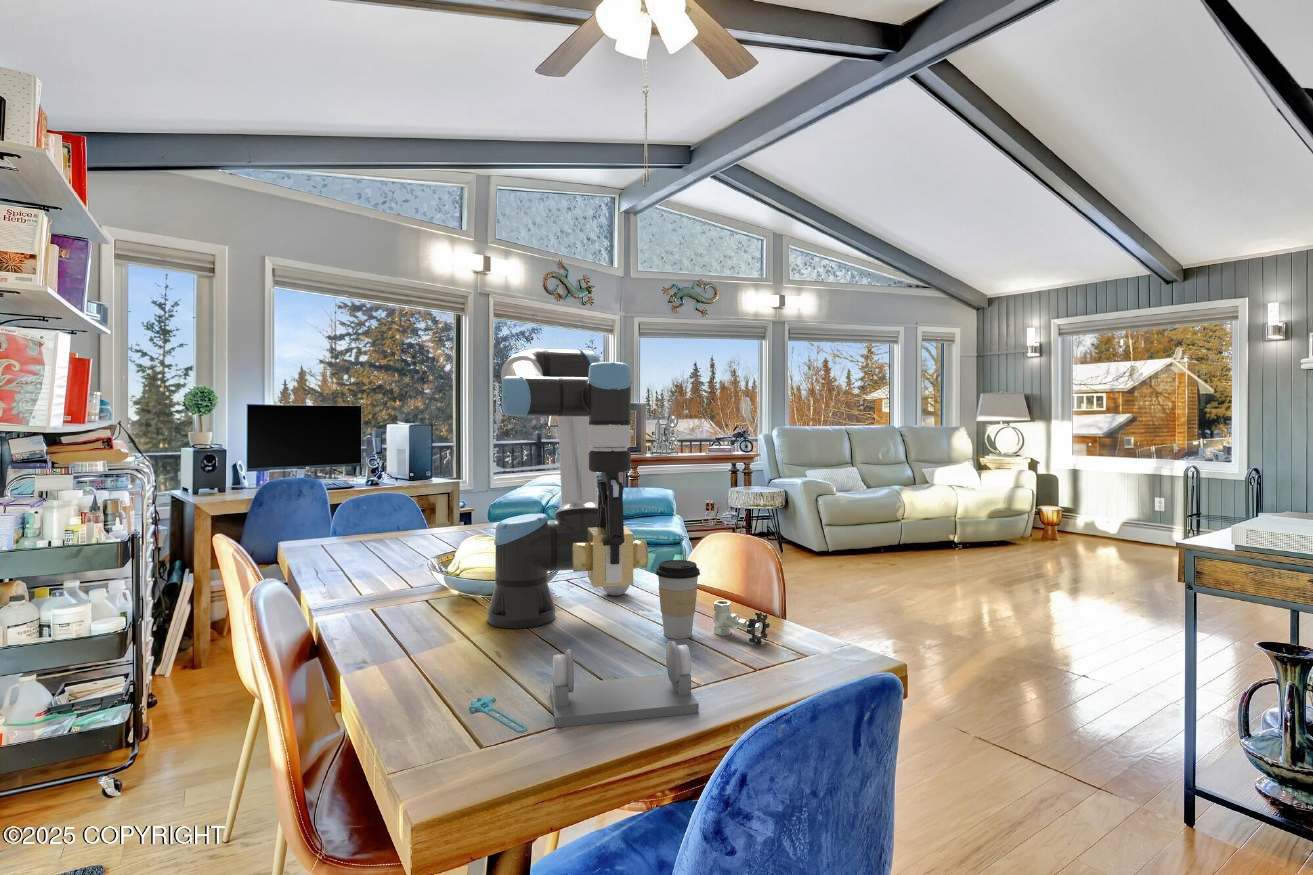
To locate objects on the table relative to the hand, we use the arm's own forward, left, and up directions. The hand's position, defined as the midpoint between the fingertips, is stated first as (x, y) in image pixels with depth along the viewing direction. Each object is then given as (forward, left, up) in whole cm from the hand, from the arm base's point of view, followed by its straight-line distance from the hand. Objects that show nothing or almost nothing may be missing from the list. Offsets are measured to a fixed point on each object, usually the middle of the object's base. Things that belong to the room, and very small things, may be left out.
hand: (610, 575), depth 116 cm
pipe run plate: (+13, 0, -17) cm, 22 cm away
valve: (-13, +29, -18) cm, 36 cm away
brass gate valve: (0, 0, -1) cm, 1 cm away
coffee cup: (-17, +17, -18) cm, 30 cm away
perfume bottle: (-51, +10, -18) cm, 55 cm away
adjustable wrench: (+13, -19, -18) cm, 29 cm away
